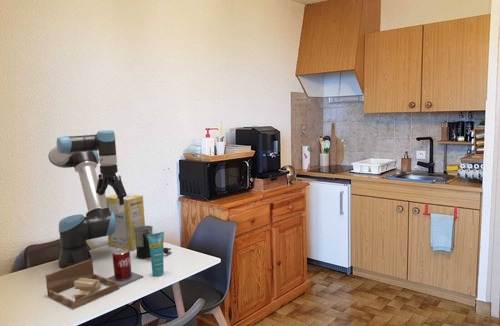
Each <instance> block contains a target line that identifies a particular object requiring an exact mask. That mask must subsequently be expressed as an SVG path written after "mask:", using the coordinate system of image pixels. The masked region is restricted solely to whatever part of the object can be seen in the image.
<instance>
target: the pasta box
mask: <svg viewBox="0 0 500 326" xmlns="http://www.w3.org/2000/svg"><path fill="white" fill-rule="evenodd" d="M126 194H127V193H126ZM117 197H118V196H117V194H116V193H115V194H112V195H108V196H107V195H106V205H107V207H108V208H109V210H110V212H114V214H115V217H116V229H115V232H114V233H113V234H112V235H108V236H107V238H108V239H107V241H108V247H110V248H115V249H118V250H119V249H128V250H129V251H130V252H134V251H137V250H136V238H135V230H134V229H135V228H136V227H140V226H146V221H145V207H144V195H139V194H138V195H137V194H127V196H125V197H124V212H120V213H118V205H117Z"/></svg>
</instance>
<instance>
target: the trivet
mask: <svg viewBox="0 0 500 326" xmlns="http://www.w3.org/2000/svg"><path fill="white" fill-rule="evenodd" d="M131 272H132V276H131V277H130V278H129V279H127V280H123V281H118V280H116V279H115V277H114V275H112V276H109V277H106V278H107V279H109V280H112V281H115V282H117V283H119V287H120V288H123V287H125V286H127V285H130V284H132V283H133V282H136V281H139V280H140V278H141V279H143V278H144V275H142V274H138V273H135V272H134V271H131ZM138 279H139V280H138Z"/></svg>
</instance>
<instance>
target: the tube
mask: <svg viewBox="0 0 500 326" xmlns="http://www.w3.org/2000/svg"><path fill="white" fill-rule="evenodd" d="M164 235H165V232H164V231H161V232H156V233H153V234H149V235H147V237H148V242H149V248H150V255H151V257H150V263H151V271H152V276H154V277H159V276H163V275H164V273H165V272H164V252H163V248H164V241H165V240H164V239H165V238H164V237H165V236H164Z"/></svg>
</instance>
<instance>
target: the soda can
mask: <svg viewBox="0 0 500 326" xmlns="http://www.w3.org/2000/svg"><path fill="white" fill-rule="evenodd" d="M130 253H131V251H129V250H128V249H119V248H118V249H116V250H114V251H113V252H112V254H111V255H112V263H113V265H112V267H113V274H114V275H113V276H114V277H115V279H116V280H118V281H123V280H127V279H129V278H130V277H131V276H132V272H133V271H132V263H131V261H132V260H131V254H130Z"/></svg>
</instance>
